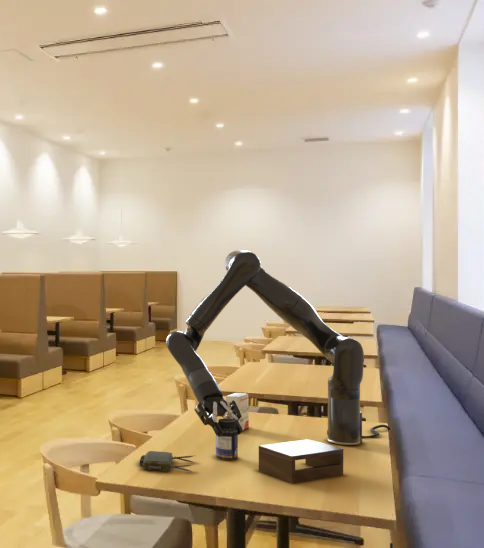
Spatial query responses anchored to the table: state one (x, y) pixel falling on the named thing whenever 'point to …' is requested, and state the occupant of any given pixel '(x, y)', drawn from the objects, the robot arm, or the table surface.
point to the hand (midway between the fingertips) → (230, 434)
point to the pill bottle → (227, 440)
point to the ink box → (240, 407)
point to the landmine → (161, 461)
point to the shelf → (283, 455)
